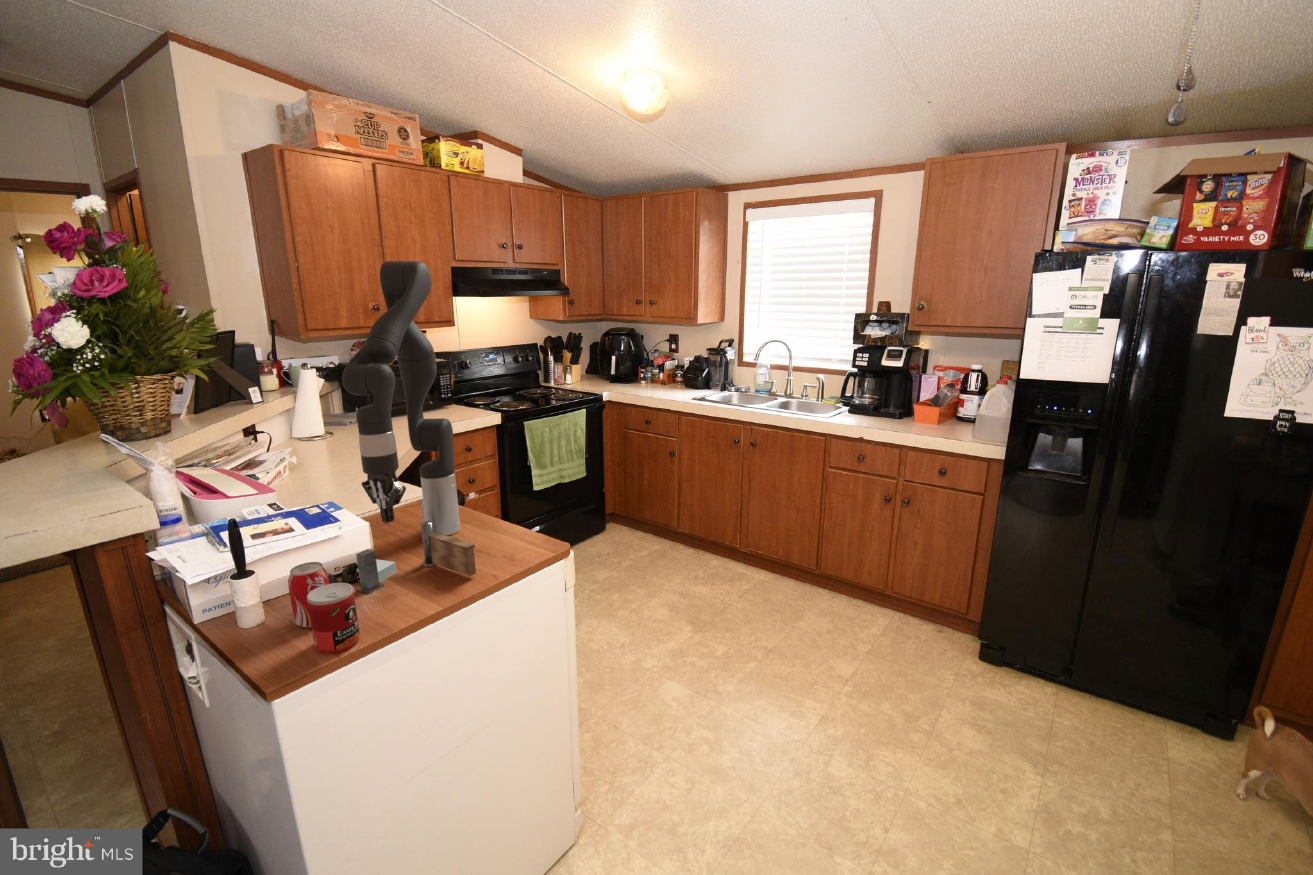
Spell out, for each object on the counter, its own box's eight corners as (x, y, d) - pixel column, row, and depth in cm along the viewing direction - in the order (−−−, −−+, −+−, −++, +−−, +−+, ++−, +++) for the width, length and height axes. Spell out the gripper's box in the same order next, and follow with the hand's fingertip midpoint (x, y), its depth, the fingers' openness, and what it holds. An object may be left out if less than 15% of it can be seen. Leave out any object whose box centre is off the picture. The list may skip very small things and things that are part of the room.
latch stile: (356, 590, 130) (351, 554, 128) (373, 582, 134) (368, 547, 132) (367, 594, 128) (362, 557, 126) (384, 585, 132) (379, 550, 130)
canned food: (341, 657, 105) (333, 603, 103) (304, 652, 107) (295, 599, 104) (369, 634, 113) (362, 584, 110) (334, 630, 114) (327, 580, 112)
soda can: (306, 634, 113) (297, 579, 110) (288, 624, 117) (278, 570, 114) (341, 617, 119) (333, 565, 116) (323, 608, 122) (314, 557, 120)
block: (358, 581, 136) (356, 569, 135) (377, 570, 141) (375, 559, 140) (378, 584, 134) (376, 572, 133) (396, 573, 139) (395, 562, 139)
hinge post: (418, 565, 143) (414, 524, 140) (431, 558, 146) (427, 518, 144) (430, 568, 141) (425, 526, 139) (442, 561, 144) (438, 521, 142)
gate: (431, 563, 142) (428, 535, 140) (438, 559, 143) (435, 532, 142) (469, 576, 134) (467, 547, 132) (477, 573, 136) (474, 544, 134)
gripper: (412, 450, 130) (420, 520, 134) (374, 444, 136) (383, 511, 140) (383, 458, 123) (393, 532, 128) (344, 451, 129) (355, 522, 133)
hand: (388, 521), depth 134 cm, fingers closed
